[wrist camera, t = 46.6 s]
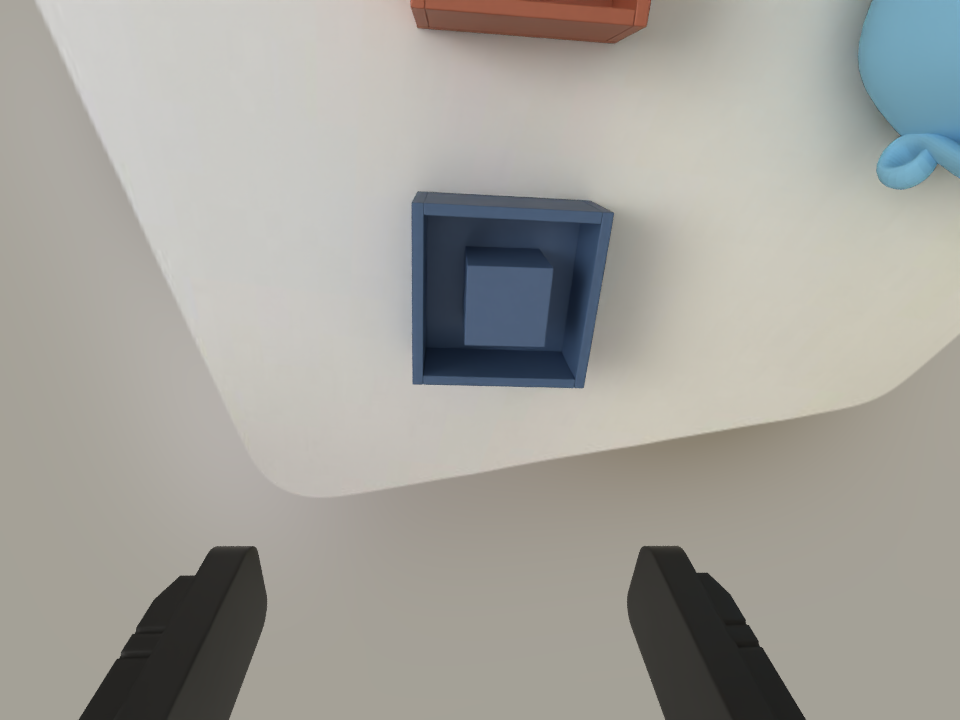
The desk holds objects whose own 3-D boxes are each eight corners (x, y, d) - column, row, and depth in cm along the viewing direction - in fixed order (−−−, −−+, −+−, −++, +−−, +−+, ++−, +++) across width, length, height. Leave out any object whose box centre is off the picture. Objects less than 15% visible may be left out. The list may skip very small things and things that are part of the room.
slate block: (462, 316, 30) (464, 345, 26) (464, 245, 28) (467, 265, 24) (532, 318, 31) (544, 347, 27) (539, 248, 29) (553, 268, 25)
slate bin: (417, 352, 32) (412, 384, 28) (417, 191, 27) (411, 202, 23) (567, 356, 32) (583, 388, 28) (591, 200, 28) (614, 212, 24)
